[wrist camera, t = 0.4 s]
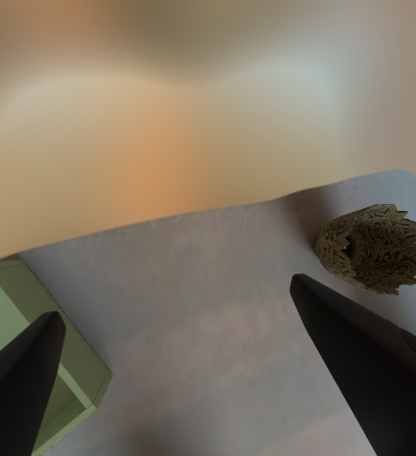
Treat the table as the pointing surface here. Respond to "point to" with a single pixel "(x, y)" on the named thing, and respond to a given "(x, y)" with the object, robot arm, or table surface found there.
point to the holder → (69, 362)
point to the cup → (370, 248)
